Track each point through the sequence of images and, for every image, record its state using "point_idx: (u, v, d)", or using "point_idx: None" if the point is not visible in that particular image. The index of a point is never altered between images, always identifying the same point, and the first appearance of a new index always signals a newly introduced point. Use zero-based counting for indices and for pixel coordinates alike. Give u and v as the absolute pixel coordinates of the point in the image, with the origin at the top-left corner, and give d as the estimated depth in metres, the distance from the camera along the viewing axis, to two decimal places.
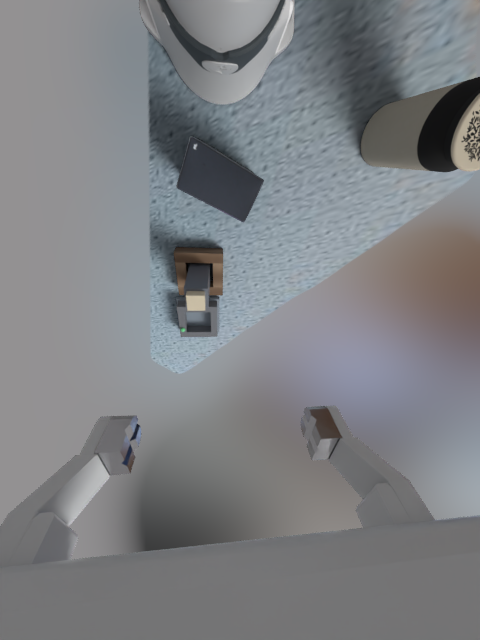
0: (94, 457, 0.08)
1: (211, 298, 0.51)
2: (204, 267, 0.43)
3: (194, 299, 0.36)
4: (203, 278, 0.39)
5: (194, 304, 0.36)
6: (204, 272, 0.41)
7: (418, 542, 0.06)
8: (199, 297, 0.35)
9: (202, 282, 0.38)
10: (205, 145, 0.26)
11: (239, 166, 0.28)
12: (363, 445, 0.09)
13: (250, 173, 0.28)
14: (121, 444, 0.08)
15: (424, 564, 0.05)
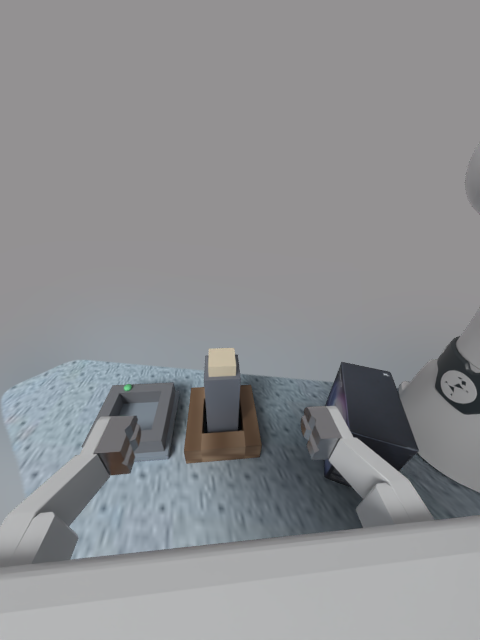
0: (94, 457, 0.08)
1: (170, 441, 0.29)
2: None
3: (228, 355, 0.25)
4: None
5: (219, 355, 0.24)
6: None
7: (418, 542, 0.06)
8: (232, 360, 0.24)
9: None
10: (393, 382, 0.26)
11: (405, 415, 0.23)
12: (363, 445, 0.09)
13: (410, 429, 0.21)
14: (121, 444, 0.08)
15: (424, 564, 0.05)
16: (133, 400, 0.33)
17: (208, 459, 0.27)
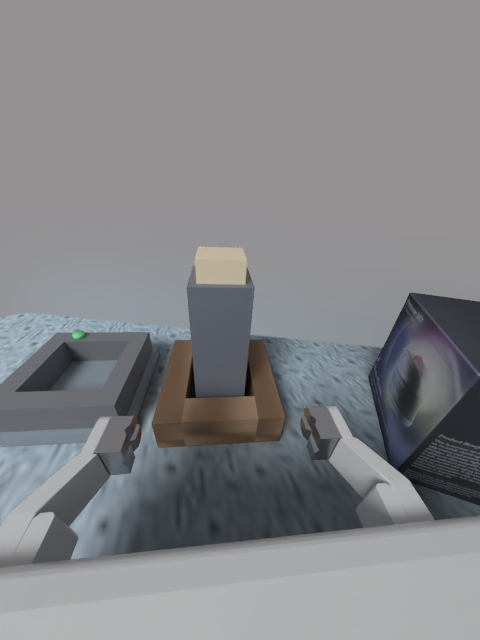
0: (94, 457, 0.08)
1: (135, 413, 0.18)
2: None
3: (232, 252, 0.14)
4: None
5: (216, 252, 0.14)
6: None
7: (418, 542, 0.06)
8: (239, 256, 0.13)
9: None
10: None
11: None
12: (363, 445, 0.09)
13: None
14: (121, 444, 0.08)
15: (424, 564, 0.05)
16: (87, 356, 0.22)
17: (195, 441, 0.16)
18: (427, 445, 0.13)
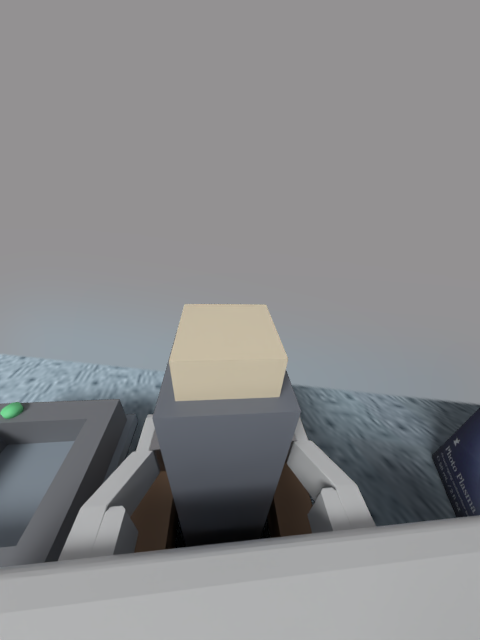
0: (150, 453, 0.08)
1: None
2: None
3: (251, 323, 0.07)
4: None
5: (219, 323, 0.07)
6: None
7: (418, 542, 0.06)
8: (268, 340, 0.06)
9: None
10: None
11: None
12: (317, 448, 0.09)
13: None
14: None
15: (424, 564, 0.05)
16: (27, 438, 0.15)
17: None
18: None
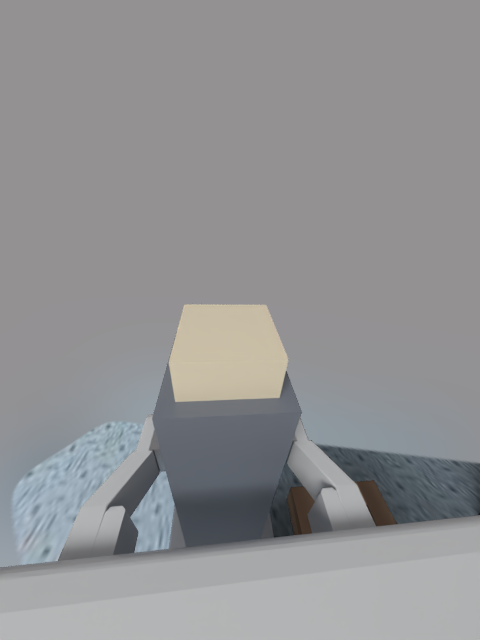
0: (150, 453, 0.08)
1: None
2: None
3: (251, 324, 0.07)
4: None
5: (219, 323, 0.07)
6: None
7: (418, 542, 0.06)
8: (268, 340, 0.06)
9: None
10: None
11: None
12: (317, 448, 0.09)
13: None
14: None
15: (424, 564, 0.05)
16: None
17: None
18: None
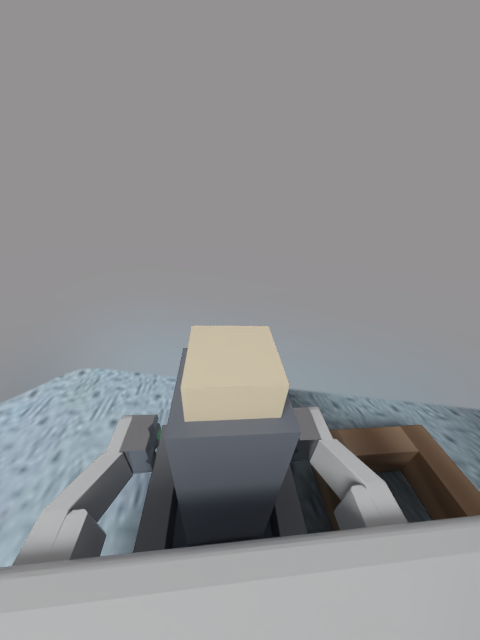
0: (120, 455, 0.08)
1: None
2: None
3: (255, 347, 0.07)
4: None
5: (225, 347, 0.07)
6: None
7: (418, 542, 0.06)
8: (271, 365, 0.07)
9: None
10: None
11: None
12: (342, 446, 0.09)
13: None
14: (145, 442, 0.09)
15: (424, 564, 0.05)
16: None
17: None
18: None
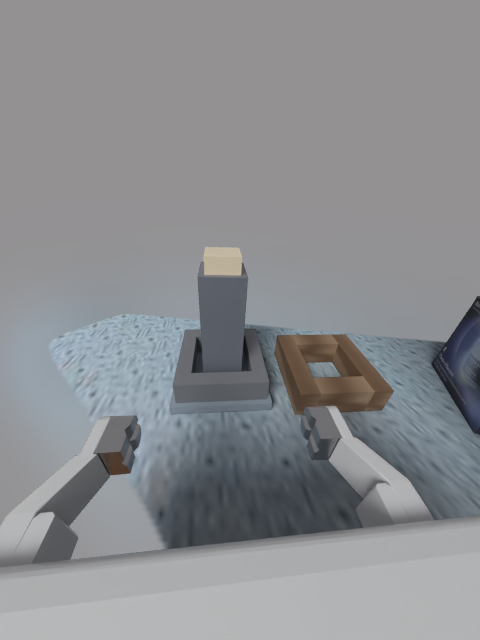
0: (94, 457, 0.08)
1: (268, 391, 0.23)
2: None
3: (231, 251, 0.18)
4: None
5: (219, 250, 0.18)
6: None
7: (418, 542, 0.06)
8: (236, 254, 0.18)
9: None
10: None
11: None
12: (363, 445, 0.09)
13: None
14: (121, 444, 0.08)
15: (424, 564, 0.05)
16: None
17: None
18: None
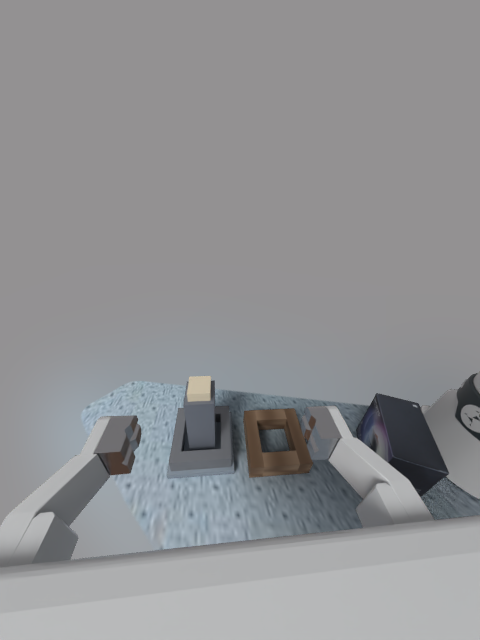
0: (94, 457, 0.08)
1: None
2: None
3: (205, 383, 0.29)
4: None
5: (197, 383, 0.29)
6: None
7: (418, 542, 0.06)
8: (207, 388, 0.29)
9: (214, 407, 0.31)
10: (422, 413, 0.32)
11: (435, 443, 0.28)
12: (363, 445, 0.09)
13: (441, 455, 0.27)
14: (121, 444, 0.08)
15: (424, 564, 0.05)
16: None
17: (267, 474, 0.33)
18: None
